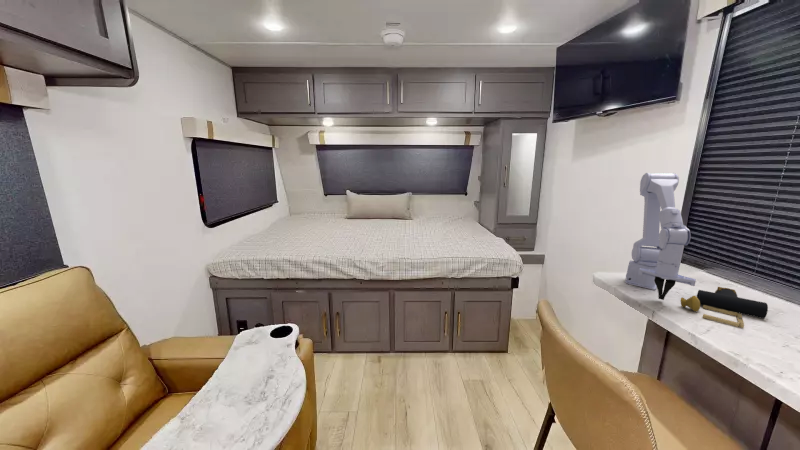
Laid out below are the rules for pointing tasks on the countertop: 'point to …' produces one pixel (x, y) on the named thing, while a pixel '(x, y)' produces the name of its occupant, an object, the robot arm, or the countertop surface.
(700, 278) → the countertop surface
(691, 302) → the knob
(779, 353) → the countertop surface
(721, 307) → the pipe connector
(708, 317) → the u-shaped bracket
